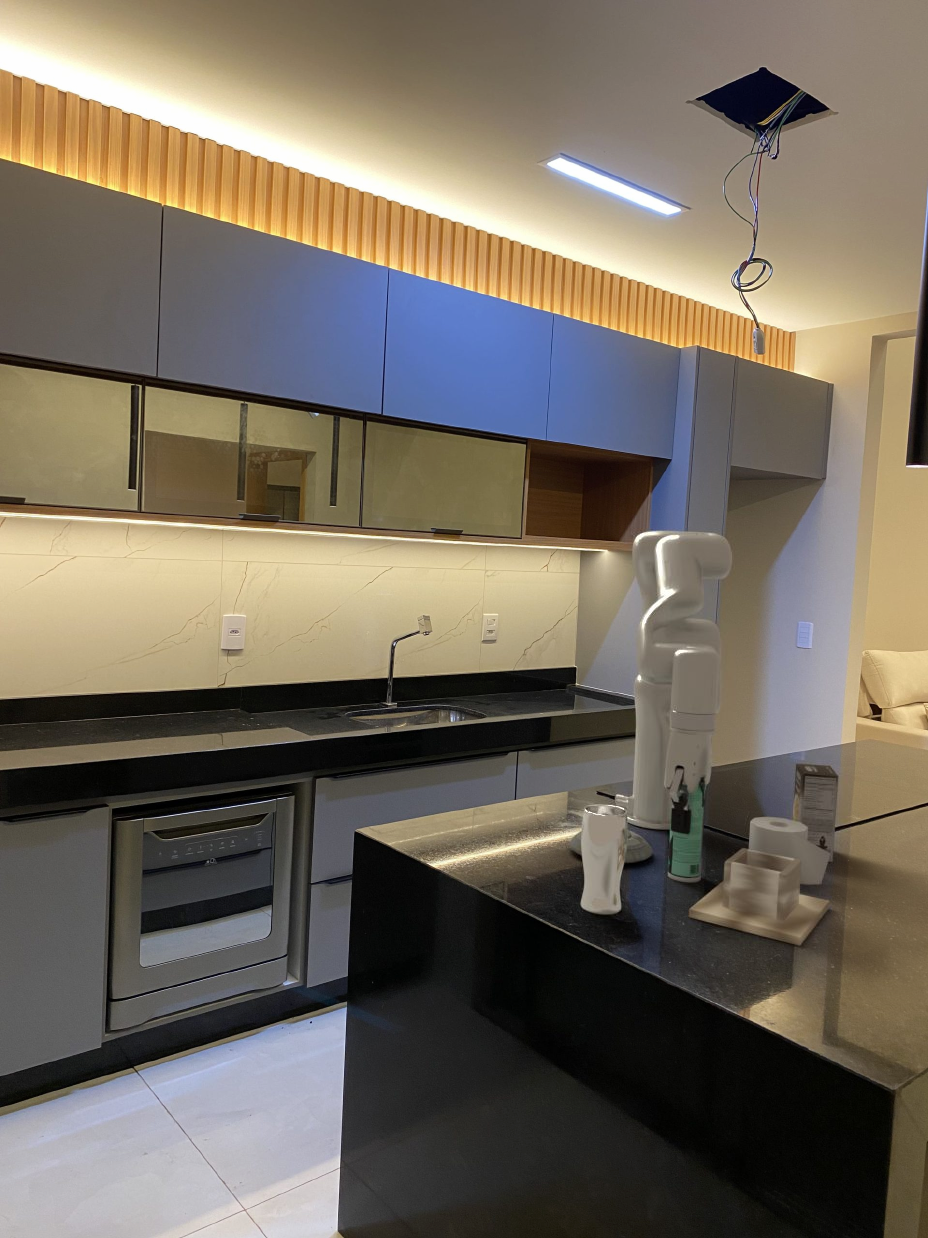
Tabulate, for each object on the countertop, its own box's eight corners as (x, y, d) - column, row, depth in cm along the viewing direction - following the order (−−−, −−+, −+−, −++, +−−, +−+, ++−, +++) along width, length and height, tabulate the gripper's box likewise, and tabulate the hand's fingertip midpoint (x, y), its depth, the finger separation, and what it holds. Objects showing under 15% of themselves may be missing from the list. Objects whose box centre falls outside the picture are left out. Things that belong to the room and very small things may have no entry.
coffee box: (789, 844, 173) (794, 762, 172) (824, 848, 172) (830, 765, 171) (797, 859, 164) (802, 772, 163) (834, 863, 163) (840, 775, 162)
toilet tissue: (832, 887, 150) (836, 836, 149) (749, 878, 153) (752, 828, 152) (823, 870, 159) (827, 822, 158) (745, 862, 162) (748, 814, 161)
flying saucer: (667, 857, 163) (669, 827, 163) (624, 875, 152) (626, 844, 152) (597, 837, 173) (599, 809, 173) (552, 853, 162) (553, 823, 162)
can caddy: (688, 917, 134) (691, 864, 133) (727, 884, 149) (729, 837, 148) (799, 945, 125) (803, 889, 125) (828, 908, 140) (832, 858, 139)
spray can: (705, 876, 153) (711, 759, 152) (694, 885, 148) (701, 765, 147) (673, 869, 156) (680, 755, 155) (662, 877, 151) (669, 760, 150)
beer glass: (613, 919, 132) (618, 818, 131) (570, 908, 135) (574, 810, 134) (630, 905, 138) (636, 809, 137) (589, 895, 141) (593, 801, 140)
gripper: (689, 713, 160) (683, 814, 161) (651, 725, 145) (646, 835, 146) (731, 719, 155) (725, 822, 156) (697, 731, 141) (690, 844, 142)
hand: (686, 827), depth 151 cm, fingers closed on spray can, 5 cm apart
